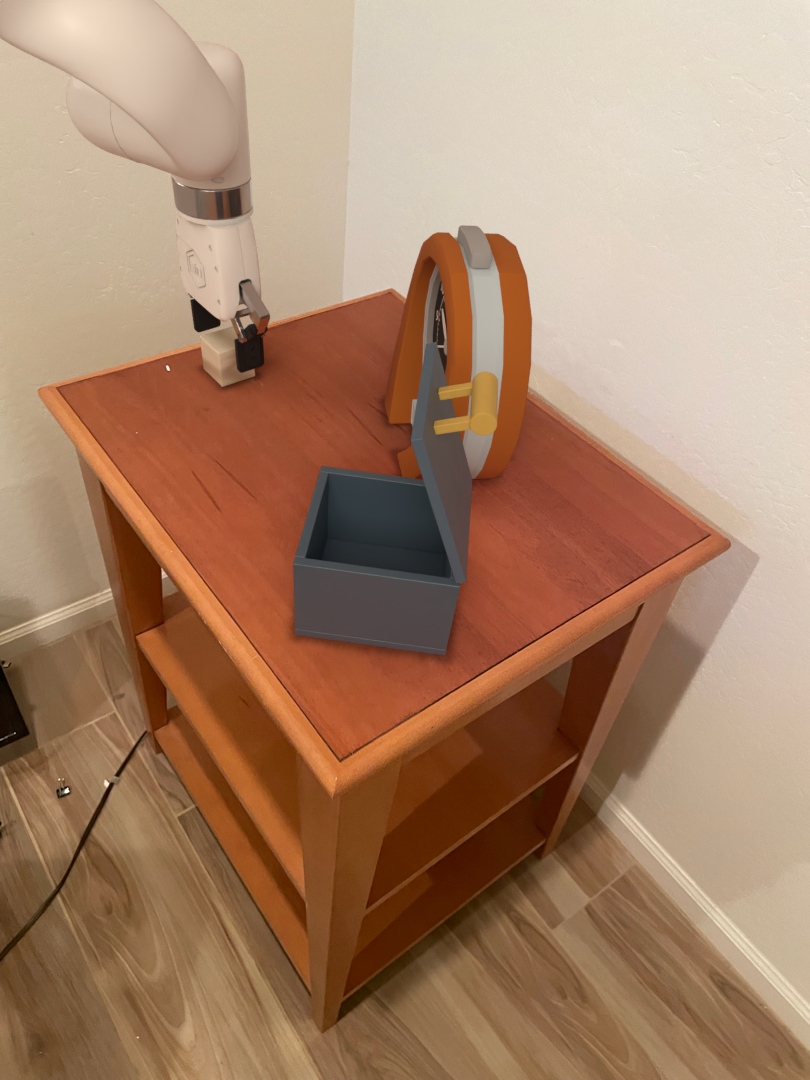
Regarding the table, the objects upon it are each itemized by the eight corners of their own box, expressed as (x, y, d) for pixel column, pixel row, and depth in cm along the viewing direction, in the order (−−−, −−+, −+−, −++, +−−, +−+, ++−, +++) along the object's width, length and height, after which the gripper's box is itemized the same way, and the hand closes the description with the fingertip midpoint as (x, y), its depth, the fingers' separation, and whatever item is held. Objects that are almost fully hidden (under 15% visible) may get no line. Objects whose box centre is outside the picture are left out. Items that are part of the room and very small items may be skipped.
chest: (294, 635, 61) (292, 563, 54) (320, 537, 69) (321, 465, 63) (445, 656, 61) (460, 587, 54) (452, 555, 69) (467, 485, 63)
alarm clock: (378, 380, 88) (394, 184, 72) (458, 379, 90) (490, 187, 74) (409, 506, 73) (438, 294, 57) (504, 502, 75) (558, 295, 59)
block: (222, 387, 84) (218, 353, 81) (203, 369, 86) (199, 335, 83) (255, 376, 86) (253, 343, 83) (236, 358, 88) (233, 325, 85)
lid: (410, 440, 45) (490, 428, 44) (425, 343, 53) (493, 331, 52) (455, 583, 54) (523, 577, 53) (463, 482, 62) (522, 474, 61)
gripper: (138, 170, 74) (163, 322, 87) (223, 237, 66) (238, 395, 78) (204, 159, 78) (220, 306, 90) (294, 220, 69) (298, 374, 82)
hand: (228, 347), depth 84 cm, fingers open, 9 cm apart
